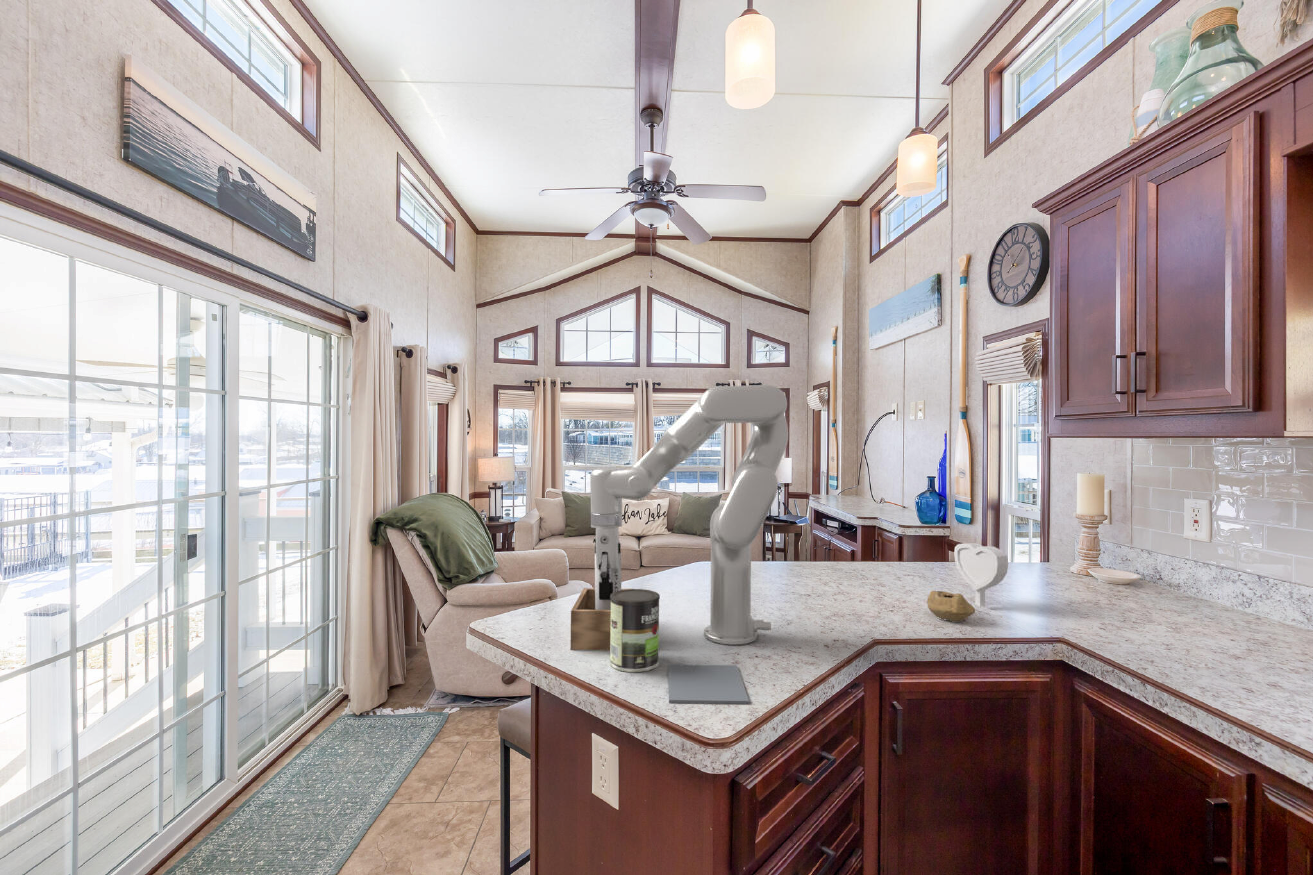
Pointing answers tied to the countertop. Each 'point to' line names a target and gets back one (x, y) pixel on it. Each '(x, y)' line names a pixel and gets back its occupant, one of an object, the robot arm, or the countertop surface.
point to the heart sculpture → (980, 567)
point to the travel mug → (615, 579)
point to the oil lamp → (949, 606)
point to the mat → (706, 684)
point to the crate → (589, 624)
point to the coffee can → (634, 630)
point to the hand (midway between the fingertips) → (607, 594)
